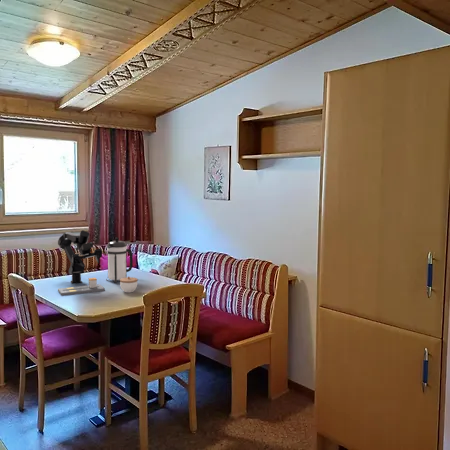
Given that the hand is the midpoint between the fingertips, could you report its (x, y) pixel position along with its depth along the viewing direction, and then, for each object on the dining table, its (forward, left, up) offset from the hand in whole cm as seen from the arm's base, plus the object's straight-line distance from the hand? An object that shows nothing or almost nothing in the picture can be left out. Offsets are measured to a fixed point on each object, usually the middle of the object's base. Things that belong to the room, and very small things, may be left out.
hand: (91, 264), depth 285 cm
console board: (-1, -6, -16) cm, 18 cm away
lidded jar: (+13, +20, -17) cm, 29 cm away
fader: (-1, +1, -15) cm, 15 cm away
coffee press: (-19, +23, -17) cm, 34 cm away
